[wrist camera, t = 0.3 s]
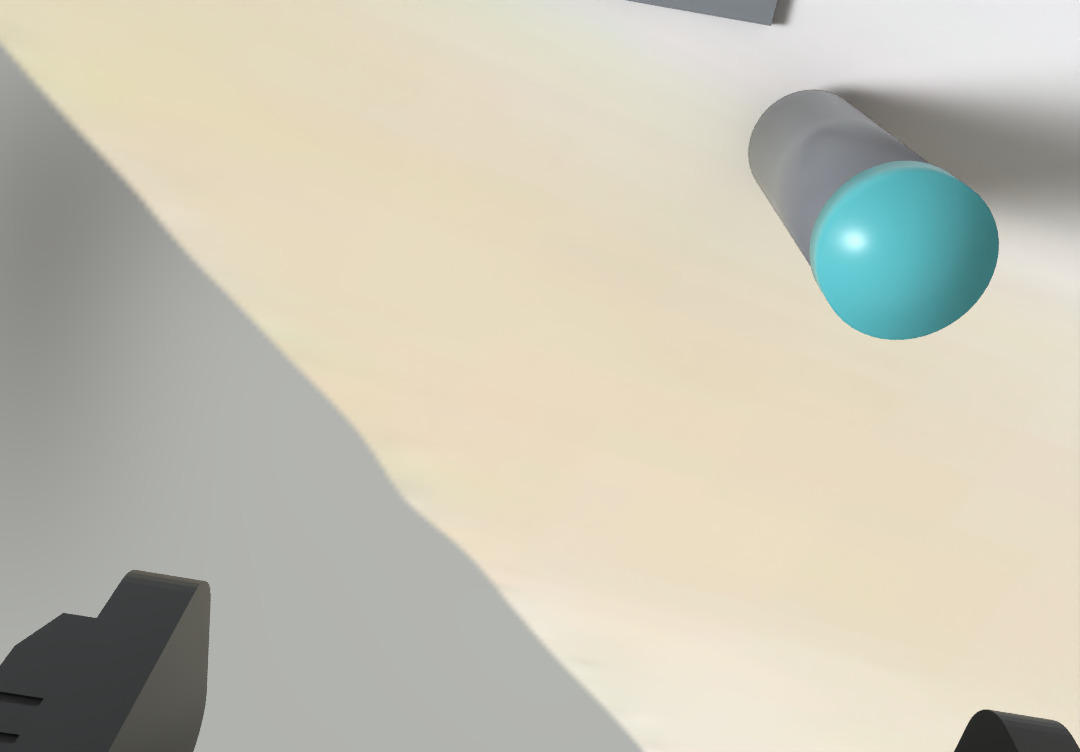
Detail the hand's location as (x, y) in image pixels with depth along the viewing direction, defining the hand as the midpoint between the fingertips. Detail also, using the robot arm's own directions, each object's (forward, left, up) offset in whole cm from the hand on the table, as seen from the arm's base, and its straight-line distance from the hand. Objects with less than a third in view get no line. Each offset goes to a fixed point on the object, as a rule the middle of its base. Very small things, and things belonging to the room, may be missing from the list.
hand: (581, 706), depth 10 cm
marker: (-1, +8, -26) cm, 28 cm away
